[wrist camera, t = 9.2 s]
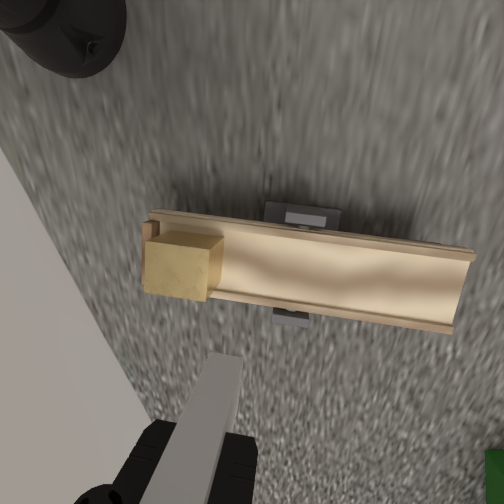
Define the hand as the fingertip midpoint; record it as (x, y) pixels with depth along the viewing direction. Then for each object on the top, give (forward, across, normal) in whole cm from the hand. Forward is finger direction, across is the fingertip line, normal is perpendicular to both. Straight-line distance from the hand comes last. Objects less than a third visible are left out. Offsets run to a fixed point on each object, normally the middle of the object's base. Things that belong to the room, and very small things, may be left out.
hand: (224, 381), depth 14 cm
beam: (+25, +4, 0) cm, 25 cm away
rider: (+20, -8, 0) cm, 21 cm away
